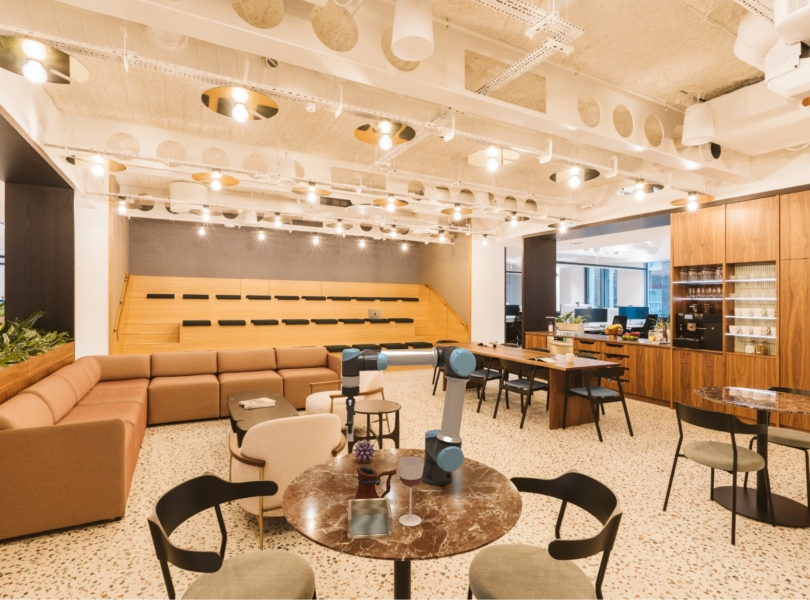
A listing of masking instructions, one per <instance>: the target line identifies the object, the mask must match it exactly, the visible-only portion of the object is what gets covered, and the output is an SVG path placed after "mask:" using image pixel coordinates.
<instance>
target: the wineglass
mask: <svg viewBox="0 0 810 600" xmlns="http://www.w3.org/2000/svg"><path fill="white" fill-rule="evenodd" d="M424 463H425V459H423V458H421V457H418V456H411V455H409V456H403V457H400V458H398V461H397V464H398V467H397V468H398V475H399V480H400V482H401V483H402V484H404V485H405V486H407V487H409V489H408V490H409V496H408V498H409V499H408V501H409V502H408V503H409V505H408V509H409V510H408V514H403V515H402V516H399V518H398V521H399V523H400V524H401V525H403V526H407V527H415V526H418V525H420V524H421V523H422V519H421V517H420V516H419V515H416V514H413V513H412V494H413V493H412V491H413V490H412V489H413V487H415V486H417V485H419V484H420V483H421V481H422V480H421V479H422V474H423V468H424Z"/></svg>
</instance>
